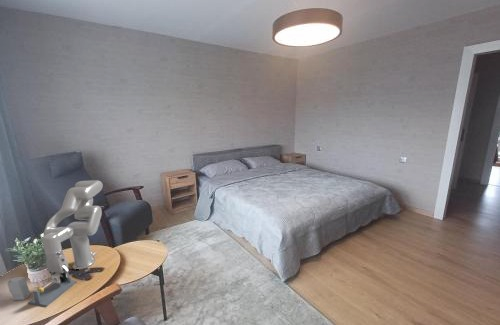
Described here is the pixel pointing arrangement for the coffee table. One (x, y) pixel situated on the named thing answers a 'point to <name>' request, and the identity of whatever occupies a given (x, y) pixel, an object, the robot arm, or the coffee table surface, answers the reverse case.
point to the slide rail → (51, 292)
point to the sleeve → (57, 277)
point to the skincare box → (18, 288)
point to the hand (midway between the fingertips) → (60, 280)
